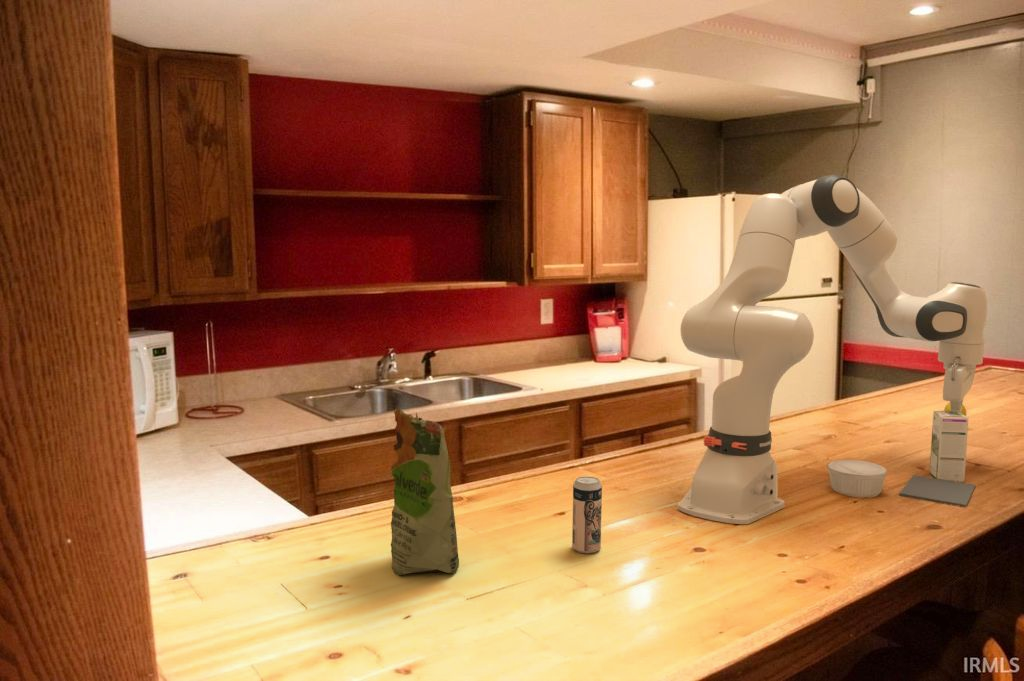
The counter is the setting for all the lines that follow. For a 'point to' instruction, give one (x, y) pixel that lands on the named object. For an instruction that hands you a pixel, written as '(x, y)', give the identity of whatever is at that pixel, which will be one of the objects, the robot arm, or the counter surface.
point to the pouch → (422, 499)
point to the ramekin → (856, 478)
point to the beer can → (587, 515)
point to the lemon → (948, 408)
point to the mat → (938, 490)
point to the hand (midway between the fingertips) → (955, 414)
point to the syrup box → (949, 445)
